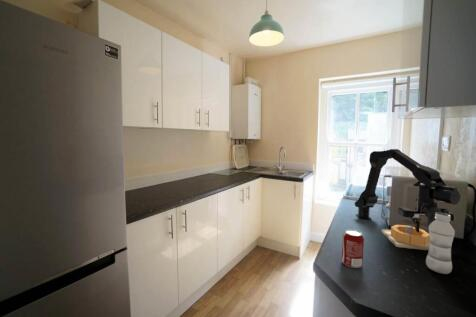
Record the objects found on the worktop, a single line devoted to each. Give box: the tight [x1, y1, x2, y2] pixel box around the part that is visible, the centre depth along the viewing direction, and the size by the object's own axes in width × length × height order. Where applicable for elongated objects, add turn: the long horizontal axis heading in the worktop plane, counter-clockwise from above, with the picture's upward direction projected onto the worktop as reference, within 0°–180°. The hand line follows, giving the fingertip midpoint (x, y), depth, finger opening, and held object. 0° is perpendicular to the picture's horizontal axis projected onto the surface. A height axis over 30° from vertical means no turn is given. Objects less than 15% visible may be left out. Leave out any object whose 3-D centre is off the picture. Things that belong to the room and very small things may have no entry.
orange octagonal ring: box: [390, 224, 430, 245], centre depth 98 cm, size 13×13×4 cm
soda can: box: [341, 228, 365, 269], centre depth 78 cm, size 7×7×12 cm
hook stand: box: [380, 225, 430, 251], centre depth 98 cm, size 16×16×6 cm
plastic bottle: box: [425, 213, 456, 275], centre depth 74 cm, size 6×7×20 cm
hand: (423, 232), depth 96 cm, fingers open, 4 cm apart
